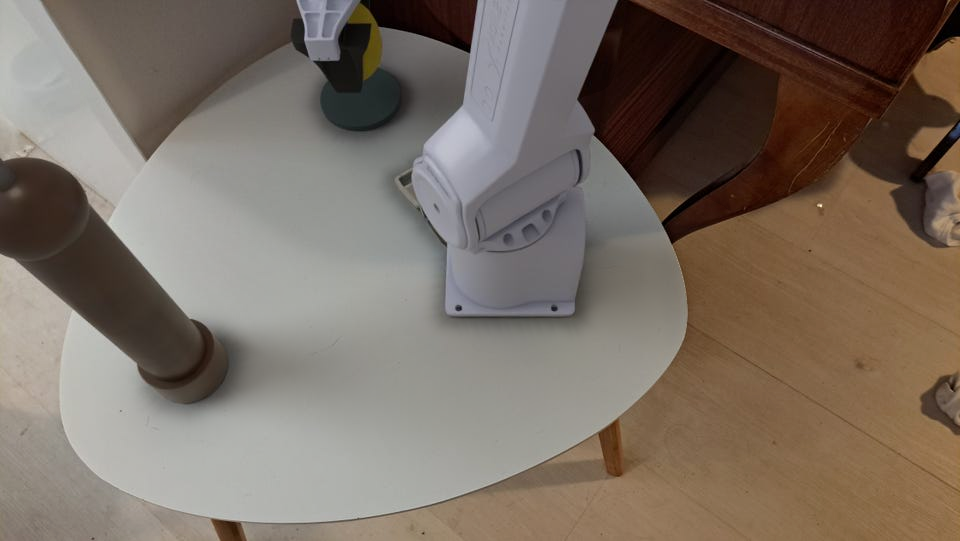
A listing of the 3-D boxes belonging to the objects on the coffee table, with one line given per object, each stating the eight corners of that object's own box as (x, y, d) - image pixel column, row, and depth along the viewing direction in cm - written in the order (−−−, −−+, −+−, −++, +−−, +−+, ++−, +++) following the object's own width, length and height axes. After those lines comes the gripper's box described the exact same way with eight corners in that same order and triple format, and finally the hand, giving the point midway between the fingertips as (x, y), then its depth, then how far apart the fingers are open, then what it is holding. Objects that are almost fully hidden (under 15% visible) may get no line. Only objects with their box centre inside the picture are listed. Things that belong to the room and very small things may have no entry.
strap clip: (392, 184, 59) (385, 152, 56) (423, 166, 60) (417, 133, 56) (451, 257, 56) (447, 228, 52) (482, 237, 57) (481, 207, 53)
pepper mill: (234, 335, 53) (63, 115, 32) (221, 403, 50) (26, 215, 29) (163, 334, 53) (-55, 116, 32) (147, 403, 50) (-101, 215, 29)
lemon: (378, 108, 59) (363, 33, 52) (313, 98, 60) (290, 23, 53) (395, 59, 62) (383, -19, 55) (333, 50, 63) (313, -27, 56)
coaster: (403, 69, 65) (402, 65, 65) (398, 131, 62) (398, 126, 61) (325, 70, 65) (324, 65, 65) (316, 131, 62) (315, 126, 61)
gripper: (272, -157, 51) (314, -1, 63) (238, -15, 44) (292, 130, 56) (372, -158, 51) (395, -2, 63) (354, -16, 44) (383, 130, 56)
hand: (352, 60), depth 59 cm, fingers closed on lemon, 5 cm apart
